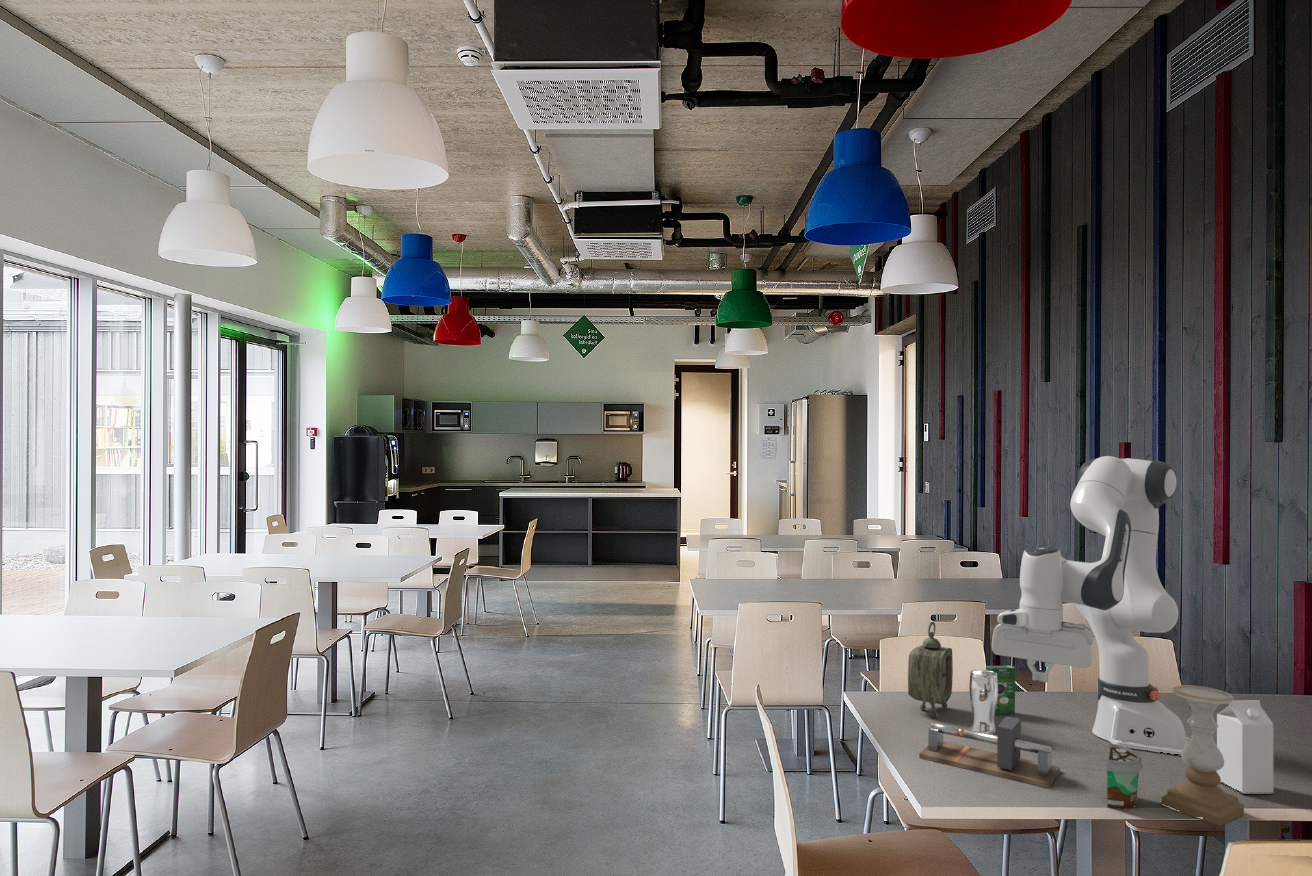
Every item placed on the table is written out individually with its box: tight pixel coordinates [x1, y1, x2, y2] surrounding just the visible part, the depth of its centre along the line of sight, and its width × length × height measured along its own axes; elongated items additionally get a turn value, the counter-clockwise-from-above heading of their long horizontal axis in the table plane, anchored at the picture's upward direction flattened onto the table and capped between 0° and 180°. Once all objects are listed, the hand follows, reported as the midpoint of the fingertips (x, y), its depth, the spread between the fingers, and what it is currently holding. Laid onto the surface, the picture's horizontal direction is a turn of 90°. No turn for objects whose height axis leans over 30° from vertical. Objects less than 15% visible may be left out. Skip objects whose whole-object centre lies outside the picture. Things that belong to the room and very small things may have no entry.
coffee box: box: [985, 665, 1017, 716], centre depth 224 cm, size 8×3×13 cm, turn 103°
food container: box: [1106, 742, 1144, 810], centre depth 166 cm, size 12×6×10 cm, turn 148°
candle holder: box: [1161, 684, 1245, 827], centre depth 163 cm, size 11×11×24 cm
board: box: [918, 740, 1061, 789], centre depth 186 cm, size 28×12×1 cm, turn 54°
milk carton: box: [1216, 699, 1274, 793], centre depth 175 cm, size 7×7×19 cm
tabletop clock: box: [907, 621, 954, 719], centre depth 225 cm, size 14×9×25 cm, turn 148°
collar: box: [996, 716, 1022, 770], centre depth 183 cm, size 3×9×9 cm, turn 144°
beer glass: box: [968, 668, 998, 735], centre depth 209 cm, size 7×7×15 cm
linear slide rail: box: [927, 721, 1053, 777], centre depth 186 cm, size 26×5×6 cm, turn 54°
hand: (1040, 681), depth 180 cm, fingers closed
